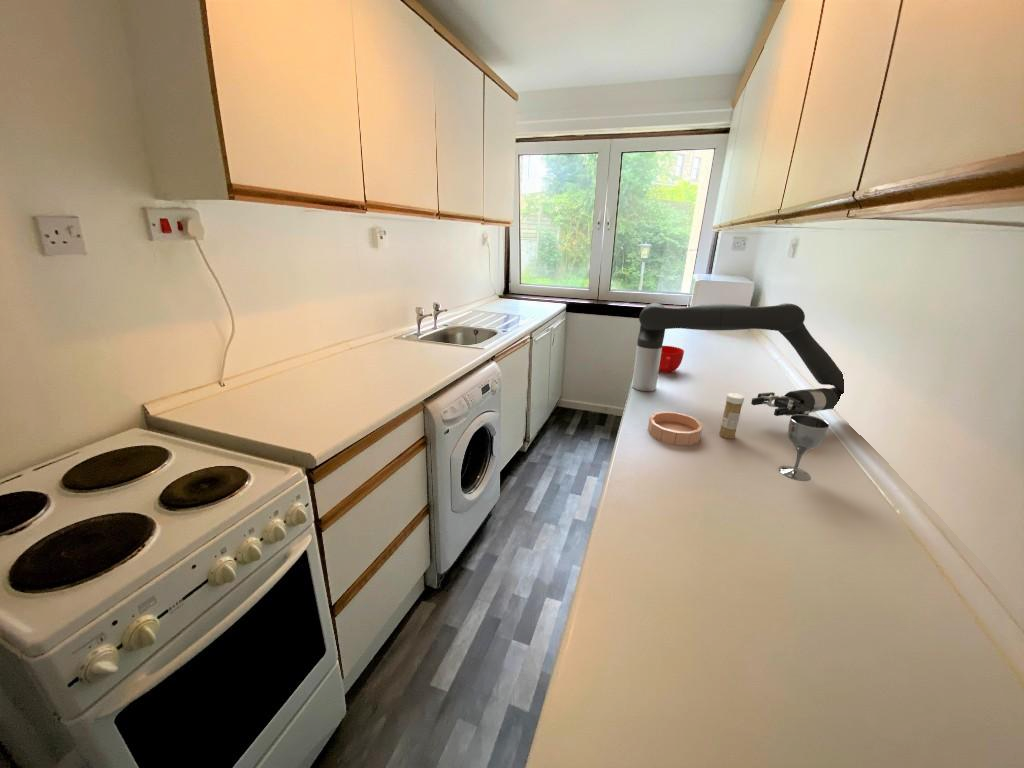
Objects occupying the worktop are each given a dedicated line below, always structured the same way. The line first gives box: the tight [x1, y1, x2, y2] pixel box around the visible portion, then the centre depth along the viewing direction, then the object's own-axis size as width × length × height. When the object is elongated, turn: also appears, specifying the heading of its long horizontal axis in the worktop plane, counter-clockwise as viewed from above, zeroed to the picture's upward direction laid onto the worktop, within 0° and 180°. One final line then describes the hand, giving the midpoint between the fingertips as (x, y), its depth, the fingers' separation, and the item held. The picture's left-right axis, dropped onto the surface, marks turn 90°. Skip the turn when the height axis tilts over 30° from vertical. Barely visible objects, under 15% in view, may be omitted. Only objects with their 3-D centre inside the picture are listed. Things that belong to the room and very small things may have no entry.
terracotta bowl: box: [647, 411, 704, 446], centre depth 127 cm, size 15×15×4 cm
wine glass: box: [778, 414, 830, 482], centre depth 105 cm, size 8×8×15 cm
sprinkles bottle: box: [718, 392, 745, 440], centre depth 125 cm, size 5×5×13 cm
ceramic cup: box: [658, 345, 685, 374], centre depth 182 cm, size 13×17×10 cm
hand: (763, 407), depth 127 cm, fingers open, 8 cm apart
